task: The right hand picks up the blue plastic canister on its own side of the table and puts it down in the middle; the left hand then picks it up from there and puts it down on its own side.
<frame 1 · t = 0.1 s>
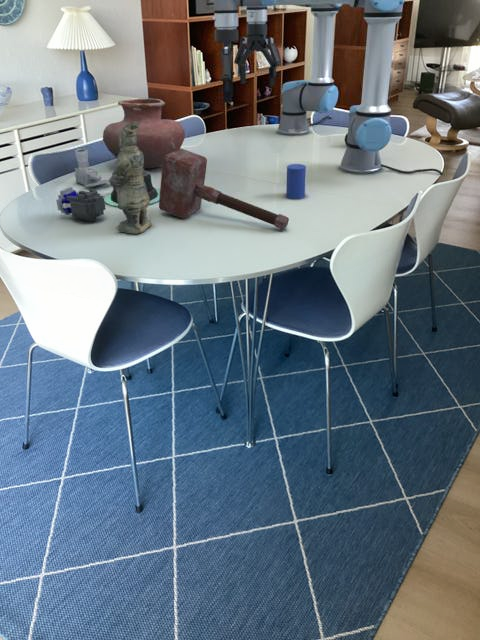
left hand: (257, 85, 216), 28 cm above the table, tool pointing down, fingers open, 13 cm apart
right hand: (228, 99, 188), 28 cm above the table, tool pointing down, fingers open, 13 cm apart
canister: (295, 196, 185), on the table
sledgehammer: (224, 220, 166), on the table
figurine: (360, 142, 249), on the table
toy: (83, 219, 170), on the table
clay pot: (147, 167, 220), on the table
grey l-shaped piece: (93, 185, 201), on the table
chocolate cake: (134, 197, 187), on the table
statue: (134, 229, 162), on the table
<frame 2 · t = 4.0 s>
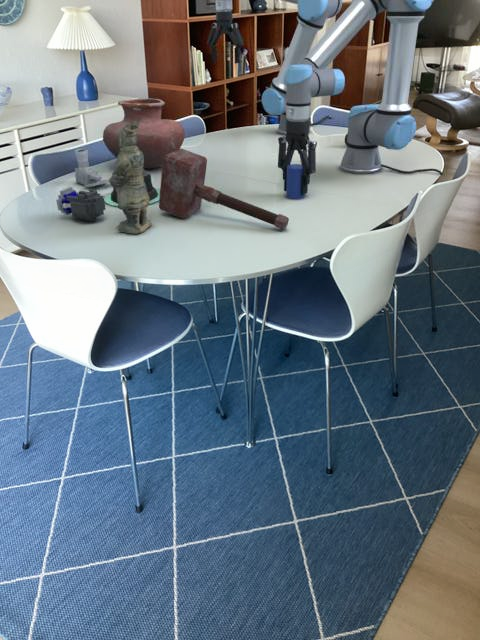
left hand: (225, 62, 261), 31 cm above the table, tool pointing down, fingers open, 13 cm apart
right hand: (295, 191, 184), 2 cm above the table, tool pointing down, fingers closed on canister, 6 cm apart
canister: (295, 196, 185), on the table, touching right hand
everything else where it was.
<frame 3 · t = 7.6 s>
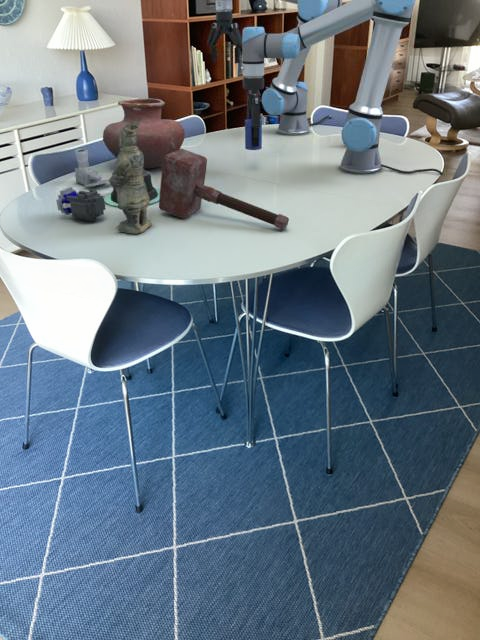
left hand: (225, 62, 261), 31 cm above the table, tool pointing down, fingers open, 13 cm apart
right hand: (253, 143, 206), 11 cm above the table, tool pointing down, fingers closed on canister, 6 cm apart
canister: (253, 148, 207), point 9 cm above the table, touching right hand
everything else where it was.
when the right hand's fingers open (3 cm above the table, at t = 11.2 s): canister drops 2 cm, on the table.
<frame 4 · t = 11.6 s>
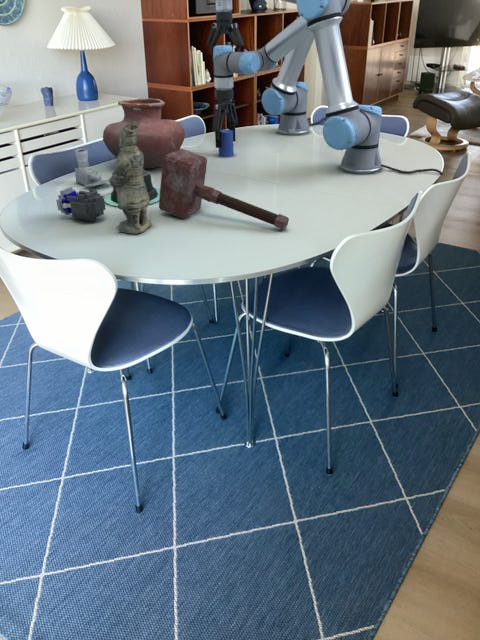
left hand: (225, 62, 261), 31 cm above the table, tool pointing down, fingers open, 13 cm apart
right hand: (225, 144, 232), 4 cm above the table, tool pointing down, fingers open, 11 cm apart
canister: (226, 155, 234), on the table
everything else where it was.
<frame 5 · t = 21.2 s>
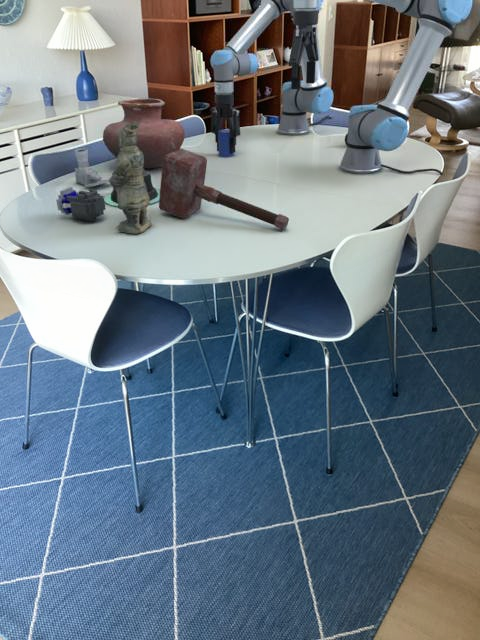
left hand: (226, 151, 233), 2 cm above the table, tool pointing down, fingers closed on canister, 6 cm apart
right hand: (303, 86, 177), 33 cm above the table, tool pointing down, fingers open, 13 cm apart
canister: (226, 155, 234), on the table, touching left hand
everything else where it was.
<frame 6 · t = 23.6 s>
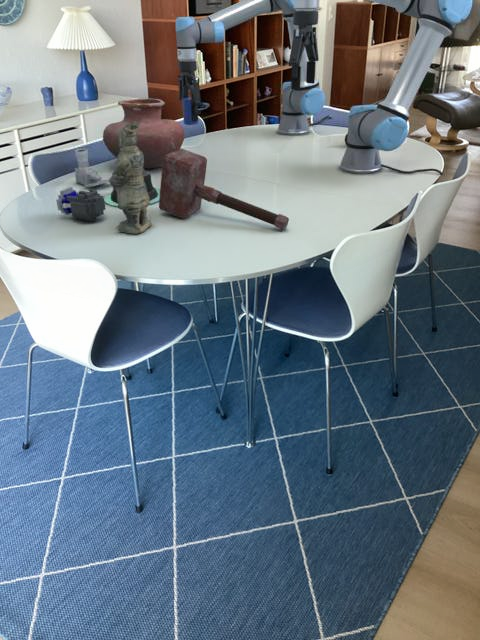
left hand: (190, 119, 236), 13 cm above the table, tool pointing down, fingers closed on canister, 6 cm apart
right hand: (303, 86, 177), 33 cm above the table, tool pointing down, fingers open, 13 cm apart
canister: (191, 123, 237), point 11 cm above the table, touching left hand
everything else where it was.
when the left hand's fingers open (3 cm above the table, at t = 26.2 s): canister drops 2 cm, on the table.
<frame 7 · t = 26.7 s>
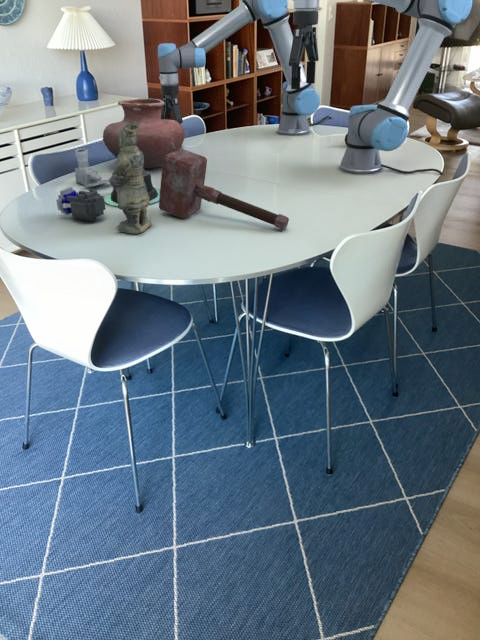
left hand: (173, 136, 246), 5 cm above the table, tool pointing down, fingers open, 12 cm apart
right hand: (303, 86, 177), 33 cm above the table, tool pointing down, fingers open, 13 cm apart
canister: (174, 147, 248), on the table
everything else where it was.
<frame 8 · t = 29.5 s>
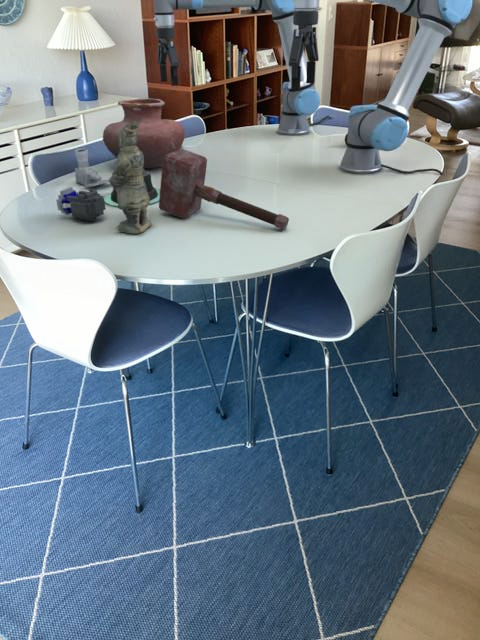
left hand: (169, 83, 235), 26 cm above the table, tool pointing down, fingers open, 13 cm apart
right hand: (303, 86, 177), 33 cm above the table, tool pointing down, fingers open, 13 cm apart
nothing on the table moved.
at the end: canister inside the target area (0.0 cm from its centre), on the table; canister tilted 0°; the two hands never held the canister at the same time; the left hand is holding nothing; the right hand is holding nothing; canister at rest at the end (0.0 cm/s) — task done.
